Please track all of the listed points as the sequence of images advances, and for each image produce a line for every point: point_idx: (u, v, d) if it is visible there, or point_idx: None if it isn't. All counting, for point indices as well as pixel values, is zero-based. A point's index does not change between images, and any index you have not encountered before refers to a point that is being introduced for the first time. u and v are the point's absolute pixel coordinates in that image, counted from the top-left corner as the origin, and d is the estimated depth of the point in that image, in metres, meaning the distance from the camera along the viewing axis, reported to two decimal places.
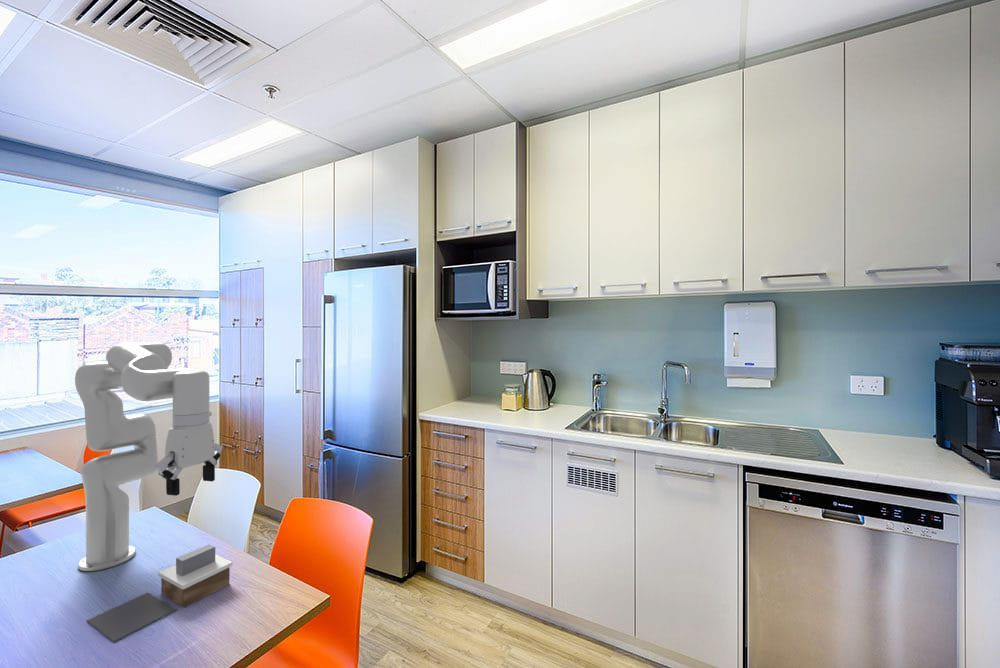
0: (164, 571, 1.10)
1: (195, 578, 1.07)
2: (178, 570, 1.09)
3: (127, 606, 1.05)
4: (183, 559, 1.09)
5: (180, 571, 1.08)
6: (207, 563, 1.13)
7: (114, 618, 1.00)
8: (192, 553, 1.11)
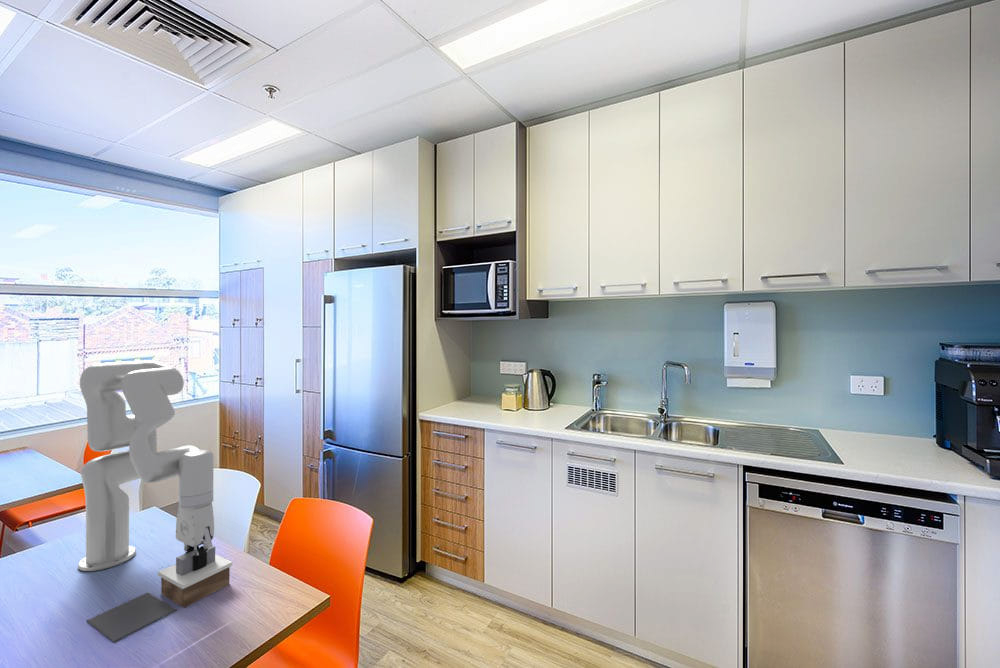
0: (164, 570, 1.10)
1: (195, 578, 1.07)
2: (178, 570, 1.09)
3: (127, 606, 1.05)
4: (183, 559, 1.09)
5: (180, 571, 1.08)
6: (207, 563, 1.13)
7: (114, 618, 1.00)
8: (192, 553, 1.12)
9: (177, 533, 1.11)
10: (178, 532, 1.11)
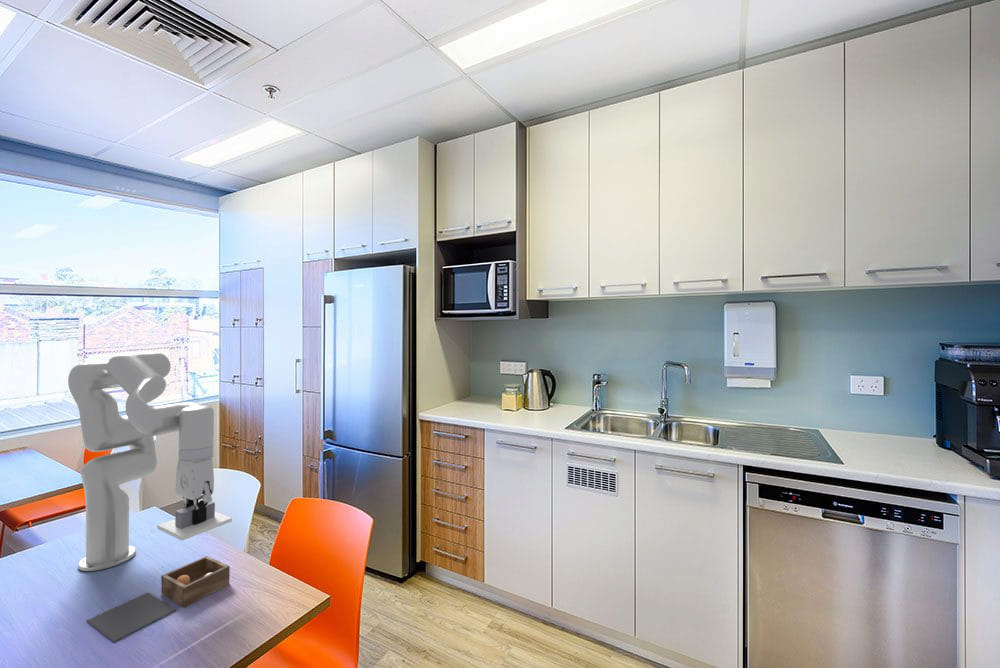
0: (163, 524, 1.10)
1: (194, 530, 1.07)
2: (177, 523, 1.09)
3: (127, 606, 1.05)
4: (182, 512, 1.09)
5: (179, 524, 1.08)
6: (206, 518, 1.13)
7: (114, 618, 1.00)
8: (191, 507, 1.12)
9: (177, 487, 1.11)
10: (178, 486, 1.11)
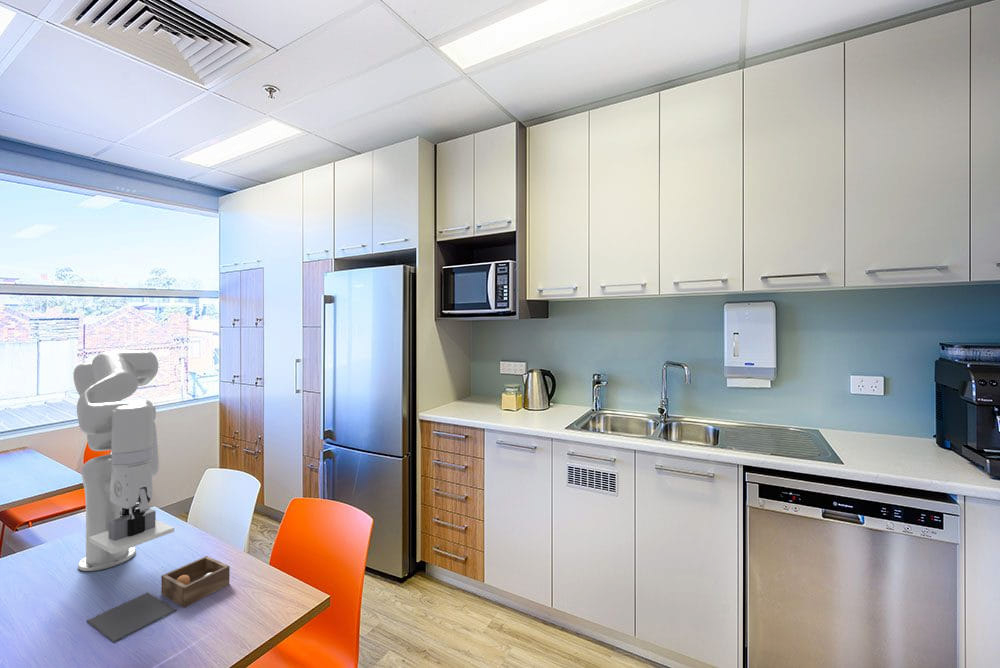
0: (96, 535, 0.99)
1: (128, 543, 0.96)
2: (110, 534, 0.98)
3: (127, 606, 1.05)
4: (116, 522, 0.98)
5: (112, 535, 0.98)
6: (145, 528, 1.02)
7: (114, 618, 1.00)
8: (128, 516, 1.01)
9: (111, 495, 1.01)
10: (112, 494, 1.00)
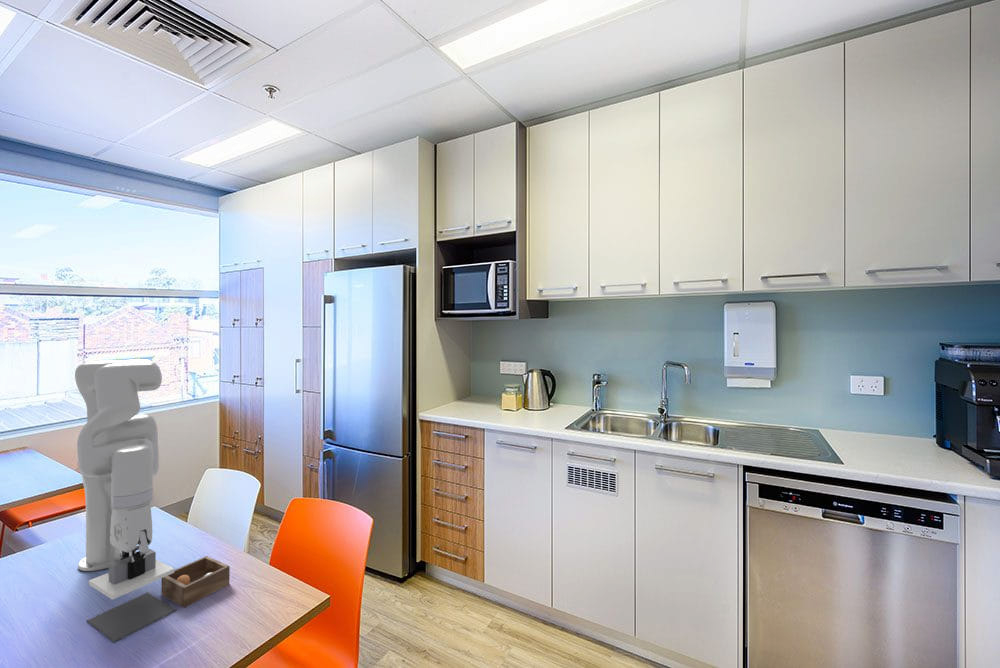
0: (96, 578, 0.99)
1: (128, 587, 0.96)
2: (110, 578, 0.98)
3: (127, 606, 1.05)
4: (116, 565, 0.98)
5: (112, 579, 0.98)
6: (145, 570, 1.02)
7: (114, 618, 1.00)
8: (128, 559, 1.01)
9: (111, 537, 1.01)
10: (112, 536, 1.00)
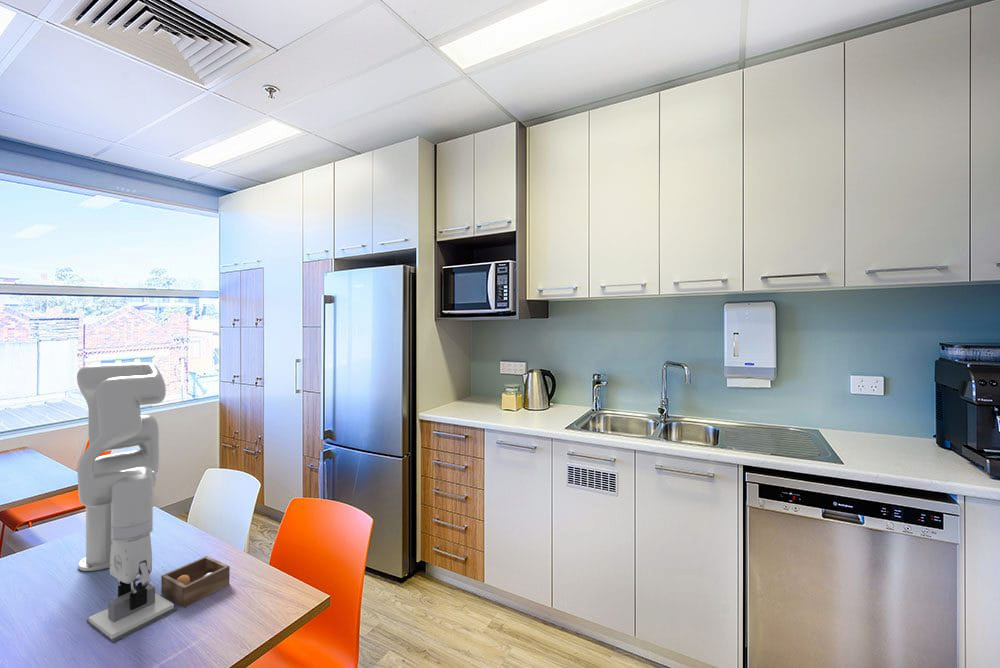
0: (95, 615, 1.00)
1: (128, 625, 0.97)
2: (110, 615, 0.98)
3: None
4: (115, 603, 0.98)
5: (112, 616, 0.98)
6: (145, 605, 1.03)
7: None
8: (127, 595, 1.01)
9: (111, 567, 1.01)
10: (112, 566, 1.00)
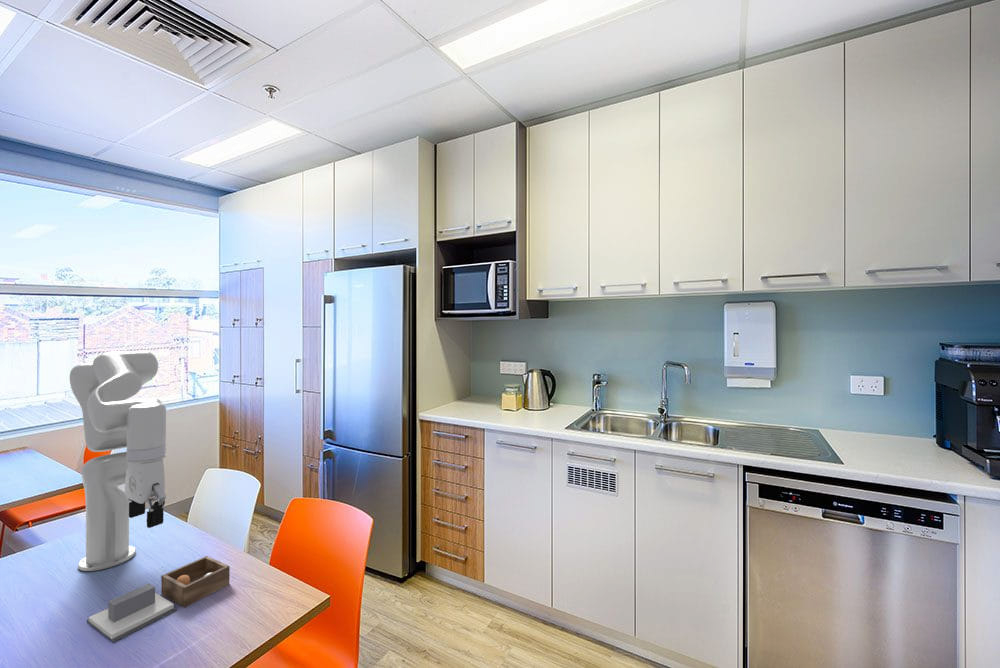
0: (95, 615, 1.00)
1: (128, 625, 0.97)
2: (110, 615, 0.98)
3: None
4: (115, 603, 0.98)
5: (112, 616, 0.98)
6: (145, 605, 1.03)
7: None
8: (127, 595, 1.01)
9: (126, 489, 1.05)
10: (127, 488, 1.04)
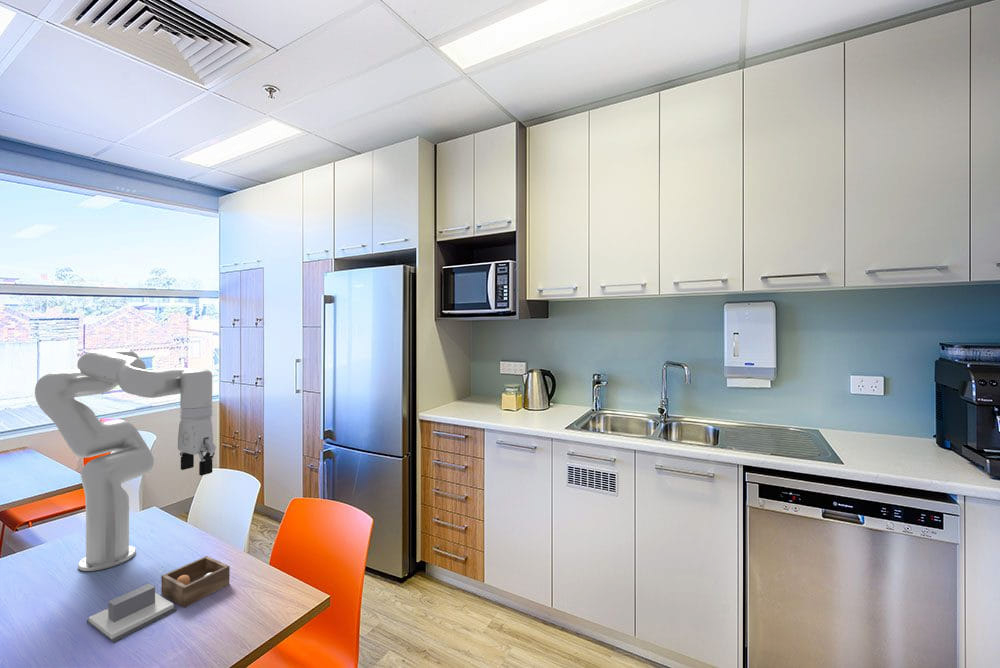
0: (95, 615, 1.00)
1: (128, 625, 0.97)
2: (110, 615, 0.98)
3: None
4: (115, 603, 0.98)
5: (112, 616, 0.98)
6: (145, 605, 1.03)
7: None
8: (127, 595, 1.01)
9: (179, 444, 1.21)
10: (180, 443, 1.21)
